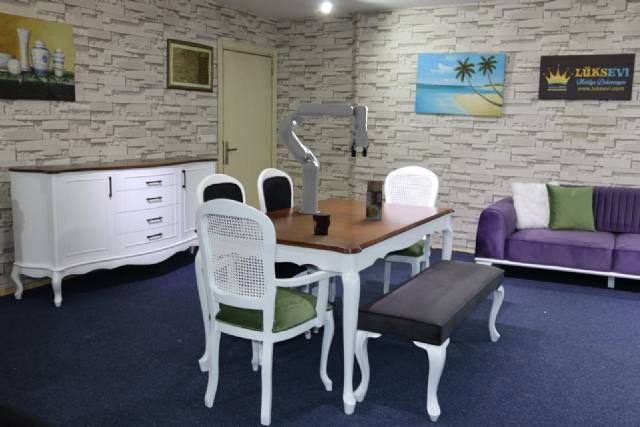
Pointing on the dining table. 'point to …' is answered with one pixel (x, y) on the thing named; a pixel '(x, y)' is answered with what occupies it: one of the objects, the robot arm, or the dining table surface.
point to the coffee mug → (321, 223)
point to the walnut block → (374, 185)
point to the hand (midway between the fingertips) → (359, 156)
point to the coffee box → (374, 205)
